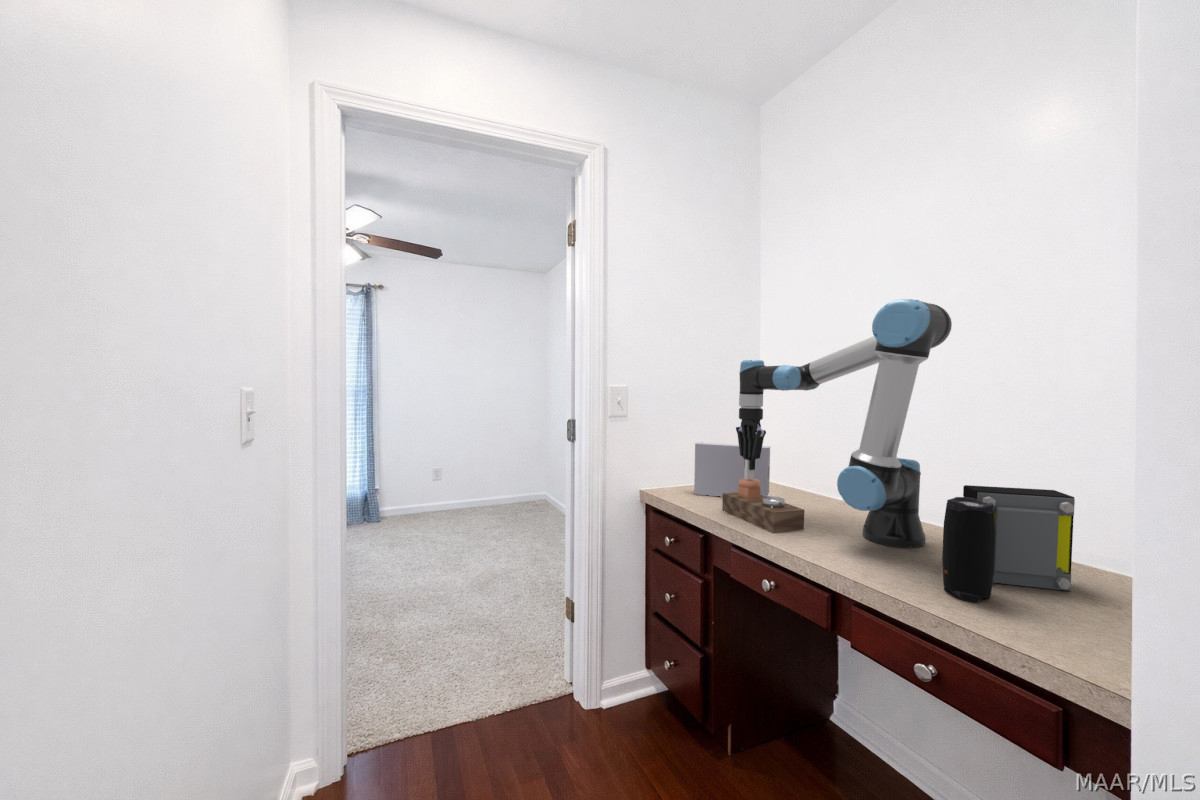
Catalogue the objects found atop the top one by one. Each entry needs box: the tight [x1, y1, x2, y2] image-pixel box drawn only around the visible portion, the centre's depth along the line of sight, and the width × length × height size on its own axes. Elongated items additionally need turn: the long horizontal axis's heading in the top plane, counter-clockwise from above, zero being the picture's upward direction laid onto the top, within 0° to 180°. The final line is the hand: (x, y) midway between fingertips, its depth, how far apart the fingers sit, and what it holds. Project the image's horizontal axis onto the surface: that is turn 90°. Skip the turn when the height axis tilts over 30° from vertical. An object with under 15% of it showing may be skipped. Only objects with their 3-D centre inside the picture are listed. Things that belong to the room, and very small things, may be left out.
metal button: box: [762, 495, 786, 508], centre depth 151 cm, size 6×6×6 cm
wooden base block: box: [721, 492, 805, 534], centre depth 157 cm, size 26×11×6 cm, turn 19°
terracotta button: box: [738, 478, 761, 499], centre depth 162 cm, size 6×6×6 cm
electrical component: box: [962, 484, 1076, 592], centre depth 109 cm, size 18×10×20 cm, turn 73°
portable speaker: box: [941, 496, 996, 603], centre depth 102 cm, size 9×9×20 cm
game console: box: [693, 441, 771, 498], centre depth 188 cm, size 6×27×20 cm, turn 67°
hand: (749, 479), depth 162 cm, fingers closed
